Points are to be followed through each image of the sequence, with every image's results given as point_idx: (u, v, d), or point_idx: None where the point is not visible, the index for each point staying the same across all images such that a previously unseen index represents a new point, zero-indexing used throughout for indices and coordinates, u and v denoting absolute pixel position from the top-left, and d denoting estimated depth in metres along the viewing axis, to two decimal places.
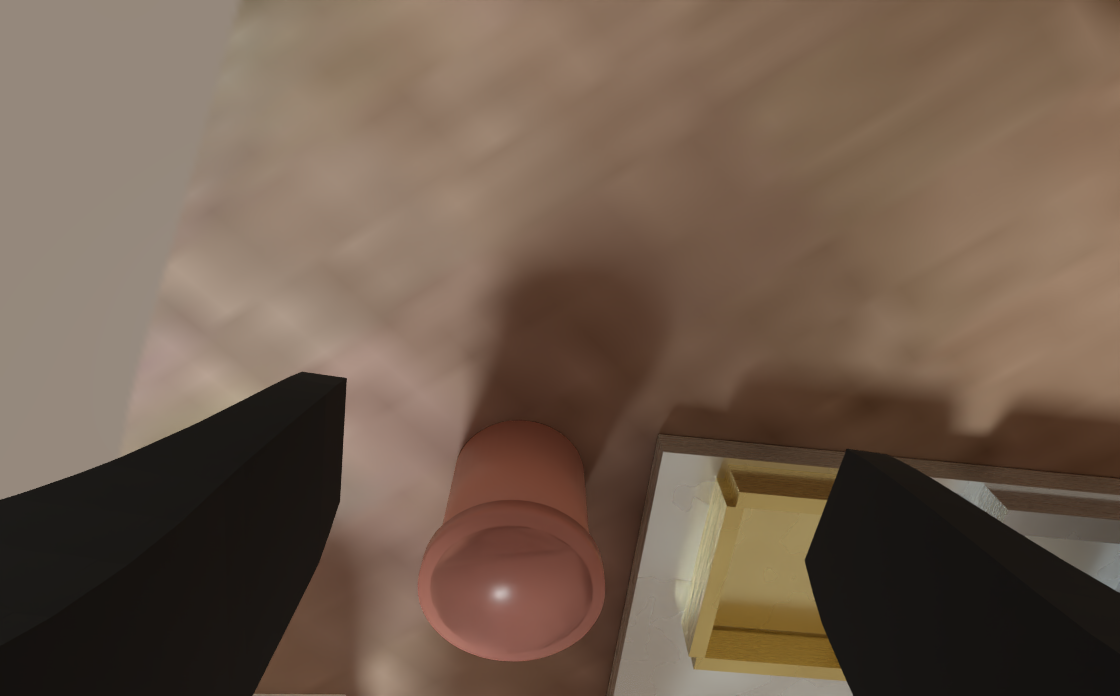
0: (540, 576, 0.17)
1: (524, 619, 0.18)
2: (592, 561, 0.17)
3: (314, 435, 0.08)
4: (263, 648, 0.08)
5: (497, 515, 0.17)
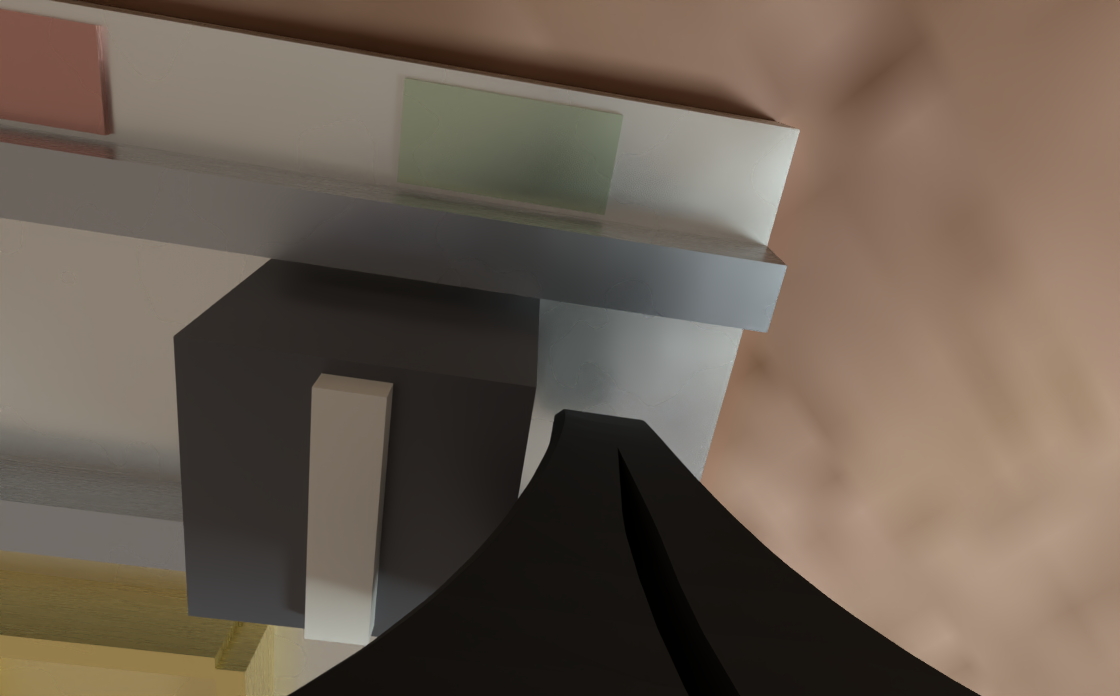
0: None
1: None
2: None
3: None
4: None
5: None
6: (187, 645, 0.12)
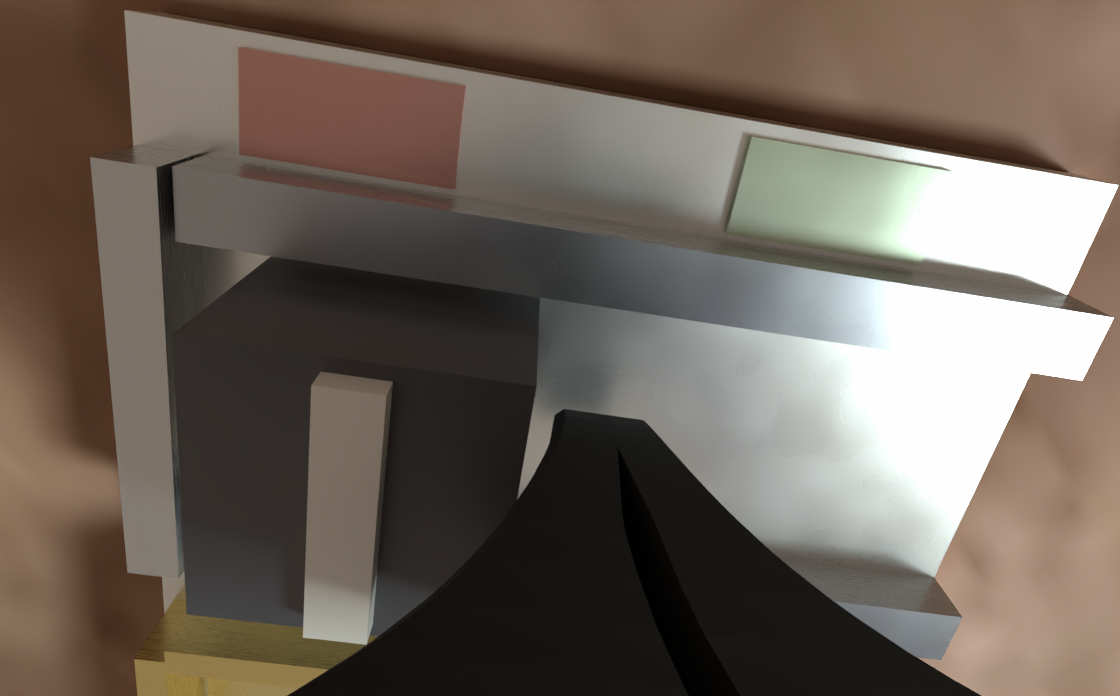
0: None
1: None
2: None
3: None
4: None
5: None
6: None
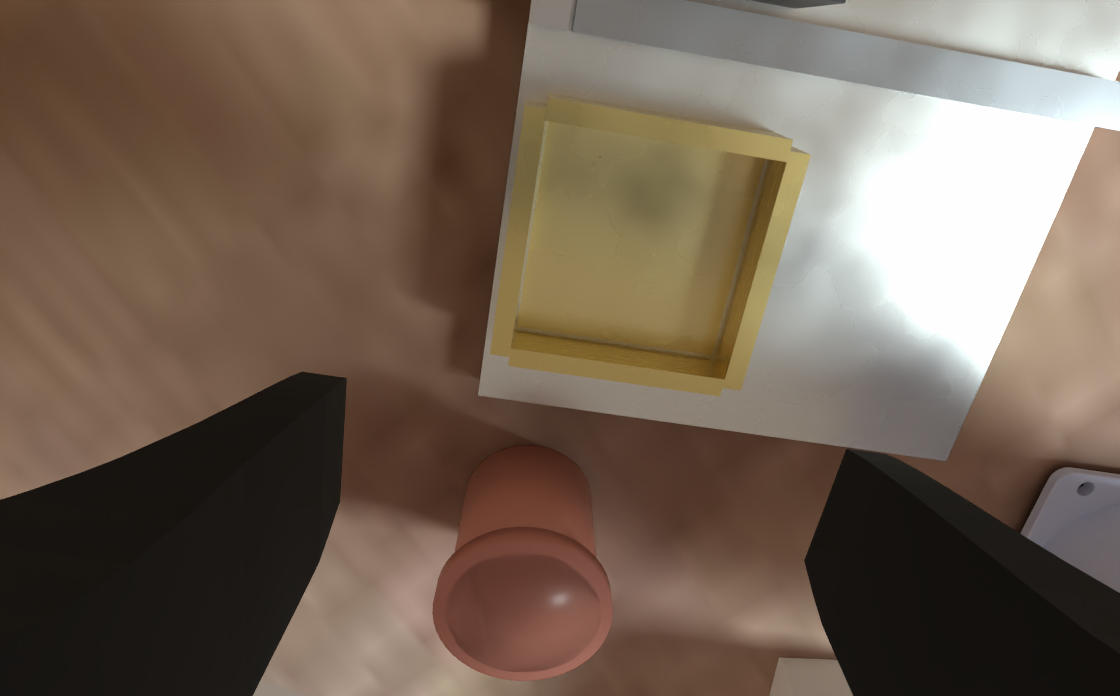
0: (504, 592, 0.18)
1: (557, 606, 0.18)
2: (487, 552, 0.18)
3: (314, 435, 0.08)
4: (263, 648, 0.08)
5: None
6: None
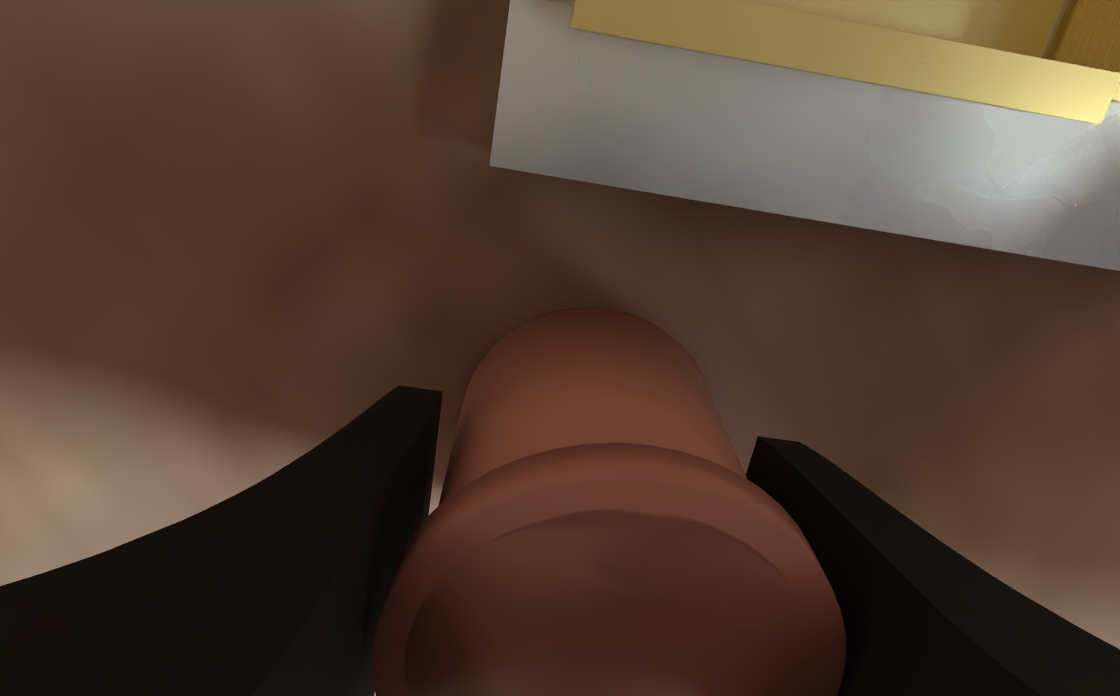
0: (563, 621, 0.07)
1: (702, 657, 0.07)
2: (519, 508, 0.06)
3: (424, 450, 0.09)
4: None
5: (376, 691, 0.07)
6: None
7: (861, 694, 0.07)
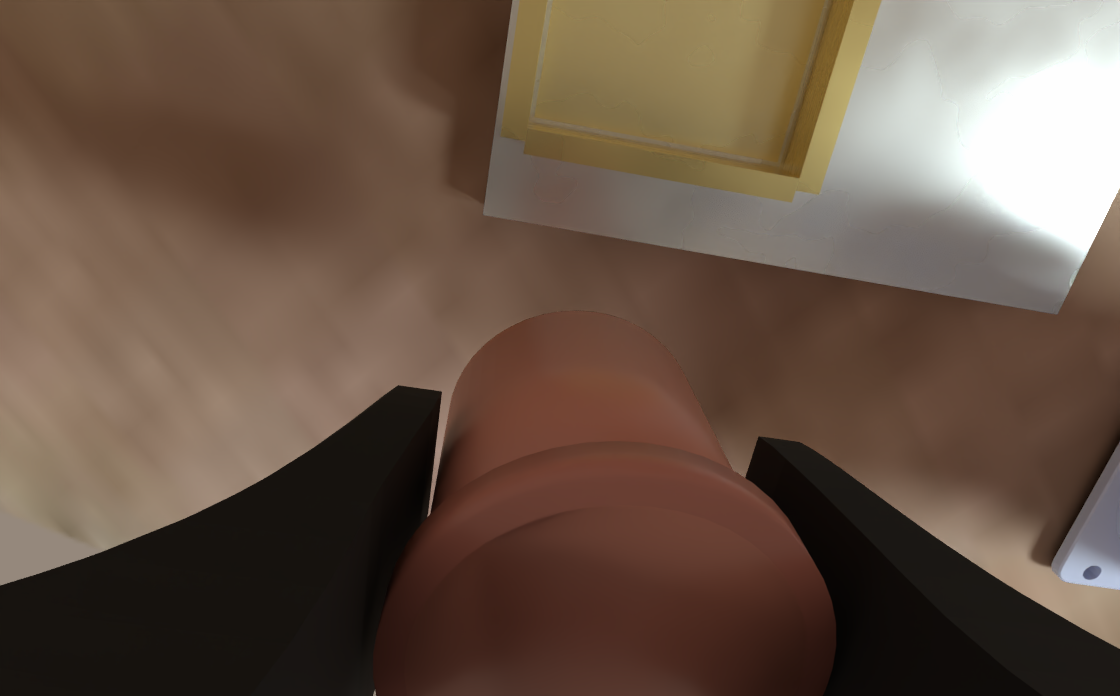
0: (563, 617, 0.07)
1: (698, 649, 0.07)
2: (521, 508, 0.06)
3: (422, 450, 0.09)
4: None
5: (376, 694, 0.07)
6: None
7: (862, 694, 0.07)
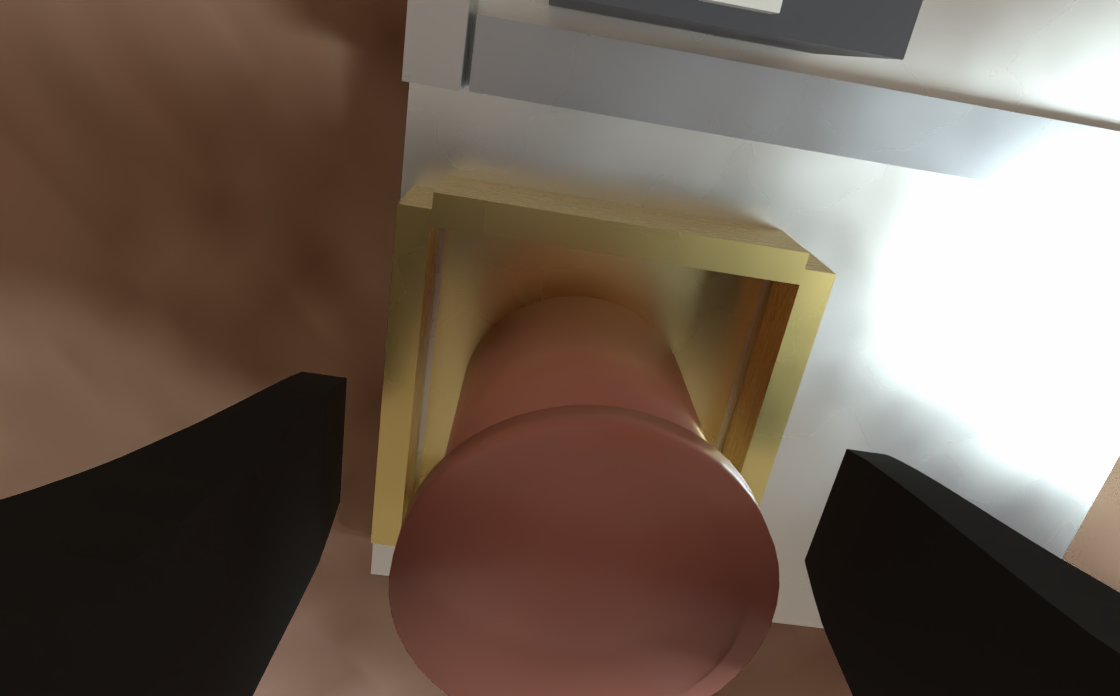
0: (547, 550, 0.08)
1: (661, 583, 0.08)
2: (511, 455, 0.08)
3: (314, 435, 0.08)
4: (263, 648, 0.08)
5: (391, 609, 0.09)
6: (770, 245, 0.11)
7: None
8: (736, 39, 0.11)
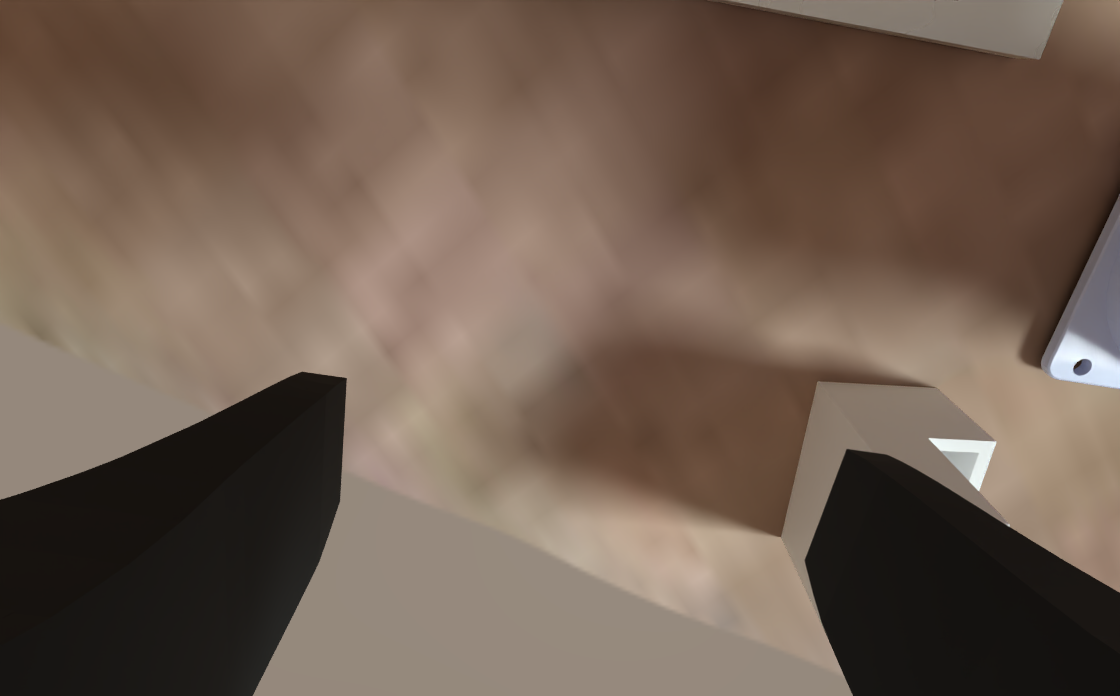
0: None
1: None
2: None
3: (314, 435, 0.08)
4: (263, 648, 0.08)
5: None
6: None
7: None
8: None
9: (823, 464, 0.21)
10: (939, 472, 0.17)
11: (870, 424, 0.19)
